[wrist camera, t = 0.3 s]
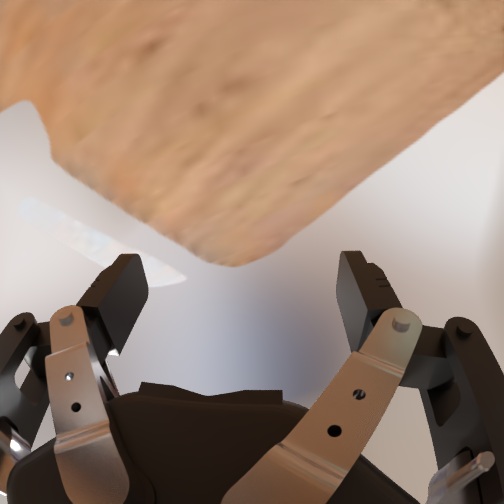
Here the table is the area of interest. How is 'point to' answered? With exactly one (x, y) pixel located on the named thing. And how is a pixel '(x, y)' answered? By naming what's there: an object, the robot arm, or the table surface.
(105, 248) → the table surface
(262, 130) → the table surface
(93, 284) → the robot arm
